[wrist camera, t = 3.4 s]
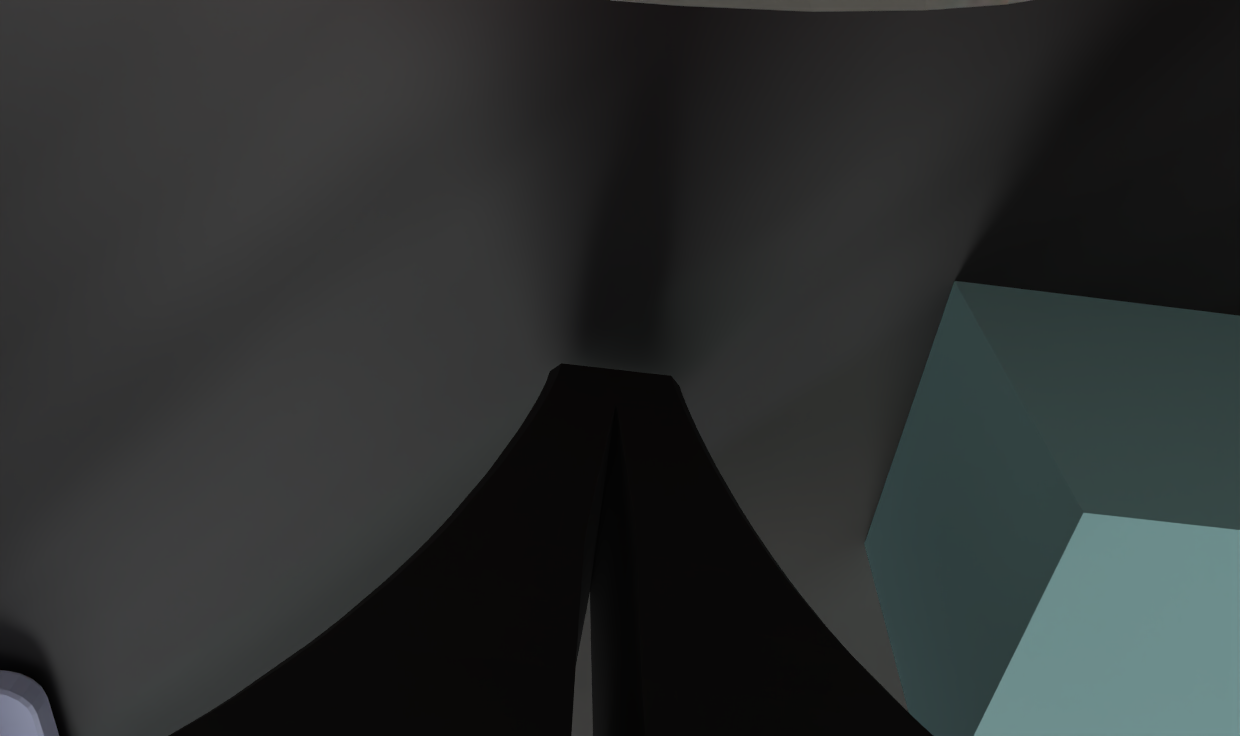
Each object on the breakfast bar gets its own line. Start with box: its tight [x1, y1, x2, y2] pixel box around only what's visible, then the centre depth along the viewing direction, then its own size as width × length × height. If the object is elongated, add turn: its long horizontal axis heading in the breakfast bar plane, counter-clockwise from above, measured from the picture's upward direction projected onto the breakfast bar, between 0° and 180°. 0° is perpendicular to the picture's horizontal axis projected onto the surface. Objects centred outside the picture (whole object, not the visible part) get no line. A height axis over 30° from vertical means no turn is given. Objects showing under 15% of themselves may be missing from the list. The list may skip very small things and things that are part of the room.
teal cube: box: [864, 281, 1240, 736], centre depth 11 cm, size 4×4×4 cm
